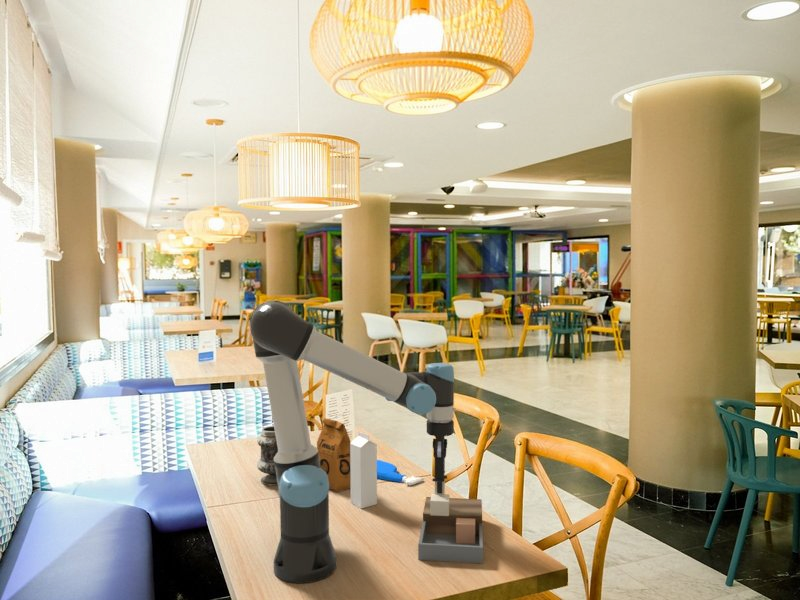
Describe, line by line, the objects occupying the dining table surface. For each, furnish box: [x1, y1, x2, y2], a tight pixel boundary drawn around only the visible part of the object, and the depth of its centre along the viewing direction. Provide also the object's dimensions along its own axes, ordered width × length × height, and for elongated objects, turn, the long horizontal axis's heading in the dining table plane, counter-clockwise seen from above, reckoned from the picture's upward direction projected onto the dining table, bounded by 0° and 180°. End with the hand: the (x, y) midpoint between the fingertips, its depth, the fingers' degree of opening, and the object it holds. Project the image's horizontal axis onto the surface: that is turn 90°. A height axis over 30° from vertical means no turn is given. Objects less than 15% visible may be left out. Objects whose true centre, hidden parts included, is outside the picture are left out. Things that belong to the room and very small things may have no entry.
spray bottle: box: [377, 459, 425, 487], centre depth 212 cm, size 3×11×24 cm
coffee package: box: [316, 417, 352, 492], centre depth 202 cm, size 10×12×22 cm
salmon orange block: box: [456, 518, 475, 544], centre depth 161 cm, size 5×5×4 cm
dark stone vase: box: [256, 425, 278, 486], centre depth 207 cm, size 12×12×18 cm
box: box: [417, 520, 484, 564], centre depth 157 cm, size 14×16×4 cm
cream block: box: [430, 493, 450, 516], centre depth 165 cm, size 5×5×4 cm
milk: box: [350, 431, 378, 509], centre depth 186 cm, size 6×6×22 cm
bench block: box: [422, 496, 483, 536], centre depth 170 cm, size 12×16×6 cm
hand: (439, 502), depth 169 cm, fingers closed
